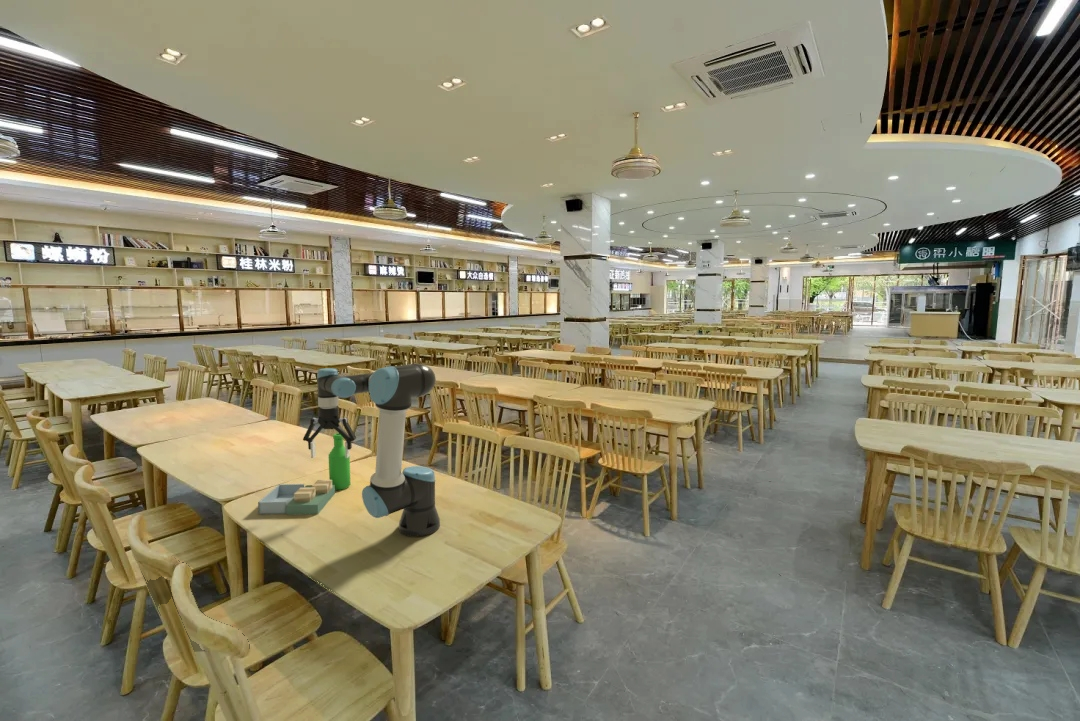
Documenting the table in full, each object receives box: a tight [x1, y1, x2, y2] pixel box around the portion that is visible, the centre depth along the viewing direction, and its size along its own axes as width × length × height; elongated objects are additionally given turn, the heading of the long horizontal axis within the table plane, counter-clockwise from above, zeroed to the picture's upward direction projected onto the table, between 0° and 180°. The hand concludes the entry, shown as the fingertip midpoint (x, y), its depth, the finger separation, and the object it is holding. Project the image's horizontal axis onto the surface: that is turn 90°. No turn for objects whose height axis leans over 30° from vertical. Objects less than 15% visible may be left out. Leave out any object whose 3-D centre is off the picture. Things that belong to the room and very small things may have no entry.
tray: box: [257, 483, 305, 515], centre depth 192 cm, size 18×10×5 cm, turn 6°
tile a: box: [294, 487, 316, 502], centre depth 189 cm, size 6×6×4 cm
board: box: [286, 484, 336, 516], centre depth 194 cm, size 20×12×4 cm, turn 6°
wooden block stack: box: [311, 479, 332, 493], centre depth 197 cm, size 6×6×4 cm
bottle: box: [328, 432, 351, 491], centre depth 210 cm, size 9×9×25 cm
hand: (330, 457), depth 190 cm, fingers open, 13 cm apart
